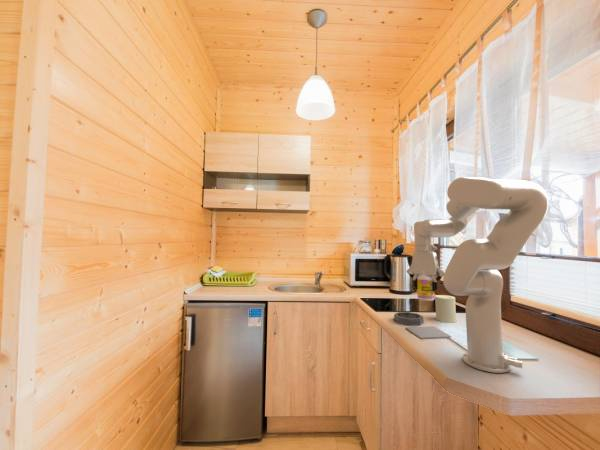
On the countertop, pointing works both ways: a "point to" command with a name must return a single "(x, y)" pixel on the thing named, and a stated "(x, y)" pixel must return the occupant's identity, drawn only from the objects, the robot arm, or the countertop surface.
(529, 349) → the countertop surface
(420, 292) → the supplement bottle
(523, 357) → the countertop surface
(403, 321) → the collar
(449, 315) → the can
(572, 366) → the countertop surface
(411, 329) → the mat
